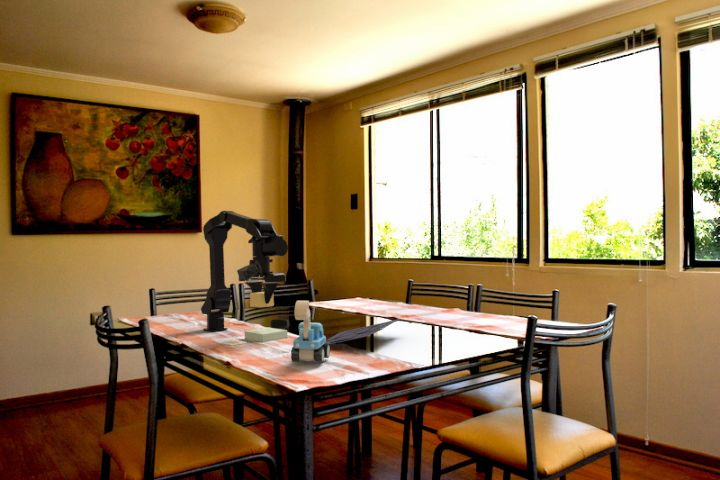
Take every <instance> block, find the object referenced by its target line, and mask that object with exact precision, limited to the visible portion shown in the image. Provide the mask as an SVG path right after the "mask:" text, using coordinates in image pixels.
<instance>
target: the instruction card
mask: <svg viewBox="0 0 720 480" xmlns="http://www.w3.org/2000/svg"><path fill="white" fill-rule="evenodd" d="M217 344H221V345H225V346H231V347H232V346H238V345H244V344H248V342H247V341H243V340H237V339H228V340H222V341H217Z"/></svg>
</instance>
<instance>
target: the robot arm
mask: <svg viewBox="0 0 720 480" xmlns="http://www.w3.org/2000/svg"><path fill="white" fill-rule="evenodd" d="M233 226H236V227H239V228H241V229H243V230H245V232H246V233H247V234H249V235H250V236H251V238H250V239H248V241H247V243H248V244H251V245H252V247H251V248H252V249H251V250H252V252H251V253H252V259H250V260H249V262H248V263H249V264H247V265H245V266H243V267H241V268H239V269H237V270H236V272H237V276H238V281H239V282H244V284H245V285H247V286H248V287H249V288H250V291H251V293H257V292H264V296H265V303H266V304H268V303H269V302H270V299H271V297H272V295H273V293H274V292H275V291H276V289H277V287H278V285H279V284H280V283H283V282H286V281H287V278H286V274H285V273H284V272H274V271H273V270H272V271H271V263H273V262H274V261H273V259H272V258H271V257H283V256H285V255H286V254H287V253H288V251H289V245H288V243H287V241H286V240H285V239H284V235H280V234H278V233H277V232H276V229H275V227H274V226H273V224H272V221H271V220H270V219H269V218H268V219H266V218H252V217H249V216H246V215H243V214H241V213H237V212H235V211H233V210H221V211H220V212H219V213H218V214H217V215H215V216H213V217H211V218H209V219H208V221H206V223H204V224H203V228H202V231H203V236H204V241H206V243H207V244H208V247H209V248H208V249H209V250H208V251H209V276H210V286H209V288H208V290H207V291H206V298H205V301H204V303H202V306H201V307H200V311H201V315H206V327H205V328H203V331H208V332H218V331H219V332H220V331H224V330H226V331H227V330H228V329H229V328H228V327H225V314H224V313H230V312H229V311H230V307H231V301H232V290H231V289H230V288H227V285H226V281H225V255H224V254H225V252H224V251H225V250H224V244H225V243H226V241H227V239H228V236H229V231H230V230H232V228H233ZM274 294H275V293H274Z"/></svg>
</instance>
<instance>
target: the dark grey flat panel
mask: <svg viewBox="0 0 720 480" xmlns="http://www.w3.org/2000/svg"><path fill="white" fill-rule="evenodd" d="M400 320H401V318H399V319H398V318H397V319H394V320H390V321H385V322H381V323H376V324H371V325H367V326H363V327H358V328H354V329H349V330H343V331H340V332H337V333H336V334H334V335H333V336H331V337H329V338H328V339H326V343H328V344H330V345H332V344H341V343H344V342H345V343H346V342H350V341H354V340H360V339H364V338H366V337H369V336H371V335H372V334H376V333H378V332H380V331H382V330H384V329H385V328H387V327H388V326H390V325H392V324H394V323H395V322H398V321H400Z"/></svg>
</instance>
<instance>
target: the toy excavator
mask: <svg viewBox="0 0 720 480" xmlns="http://www.w3.org/2000/svg"><path fill="white" fill-rule="evenodd" d="M309 307H310V300H296V302H295V305H294V318H295V320H296V321H302V322H300V323H299V324H298V332H299V333H298V337H296V338H295V339H293V341H292V342H293V343H292V345H293V346H292V347H291V350H290V352H291V353H290V360H291V362H292V363H299V362H300V360H301V361H314V363H323V362H324V361H325V359H329V358H330V353H331V349H330V348H331V346H330V345H331V344H330V345H329V344H328V343H326V340H327V337H326V335H324V328H323V327H324V326H323V324H322V323H320V322H311V310H310V308H309Z"/></svg>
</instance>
